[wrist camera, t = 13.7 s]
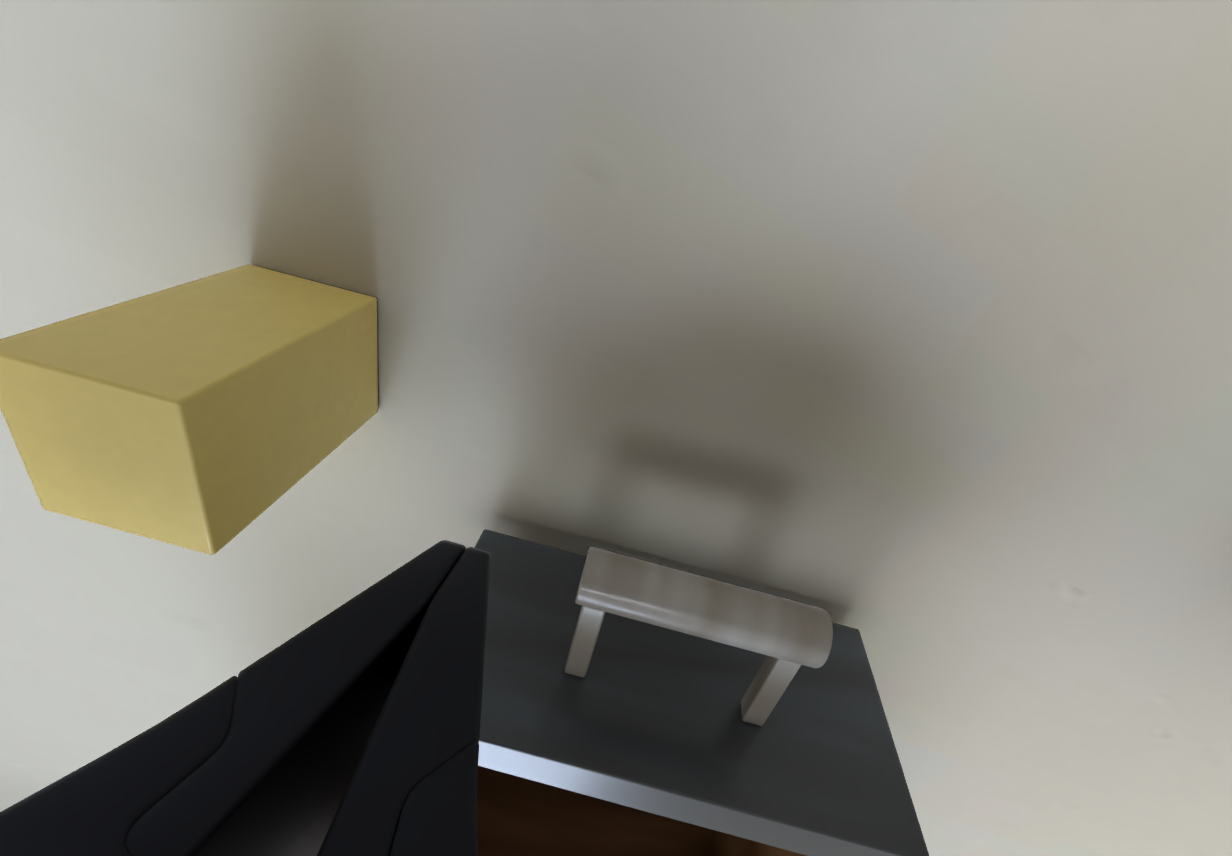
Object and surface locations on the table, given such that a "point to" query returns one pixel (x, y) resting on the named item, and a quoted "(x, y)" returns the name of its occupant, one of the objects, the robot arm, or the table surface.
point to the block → (190, 401)
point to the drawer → (675, 718)
